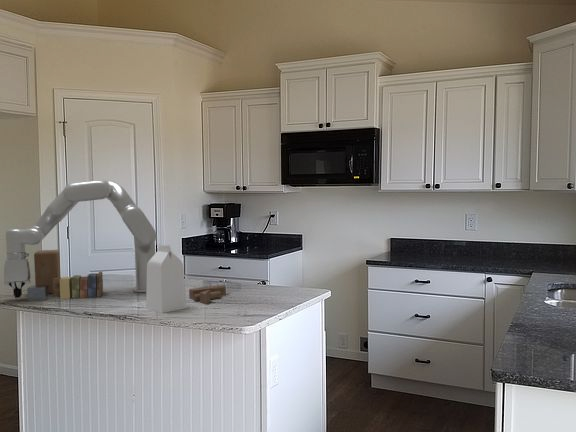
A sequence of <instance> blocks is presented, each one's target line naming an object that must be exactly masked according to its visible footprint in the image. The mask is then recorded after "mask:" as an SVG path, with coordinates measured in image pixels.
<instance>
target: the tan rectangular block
mask: <svg viewBox="0 0 576 432" xmlns="http://www.w3.org/2000/svg"><path fill="white" fill-rule="evenodd" d="M72 277H73V276H63V277H60V278H61V279H60V295H59V296H60V297H59V299H60V300H70V299H71V298H73V297H72Z"/></svg>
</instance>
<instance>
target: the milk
mask: <svg viewBox="0 0 576 432" xmlns="http://www.w3.org/2000/svg"><path fill="white" fill-rule="evenodd" d="M157 247H158V249H157V251H155V255H154V256H153V257H152V258H151V259H150V260H149V262H148V264H147V292H145V293H146V296H145V297H146V301H145V302H146V304H145V308H146V309H147V310H150V311H154V312H157V313H161V314H165V313H168V312H174V311H179V310H183V309H187V307H188V305H187V296H186V286H185V285H186V283H185V272H184V263H183V261H182V260H181V259H180V258H179V257H178V256H177V255H175V254H174V252H172V249H171V245H170V244H162V243H161V244H158V246H157Z"/></svg>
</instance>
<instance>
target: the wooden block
mask: <svg viewBox="0 0 576 432" xmlns="http://www.w3.org/2000/svg"><path fill="white" fill-rule="evenodd" d="M33 260H34V261H33V262H34V263H33V265H34V281H35V283H34V284H35V285H34V286H36V285H49V295H53V278H61V259H60V251H59V249H45V250H44V249H43V250H37V251H36V252H34V254H33Z"/></svg>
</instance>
